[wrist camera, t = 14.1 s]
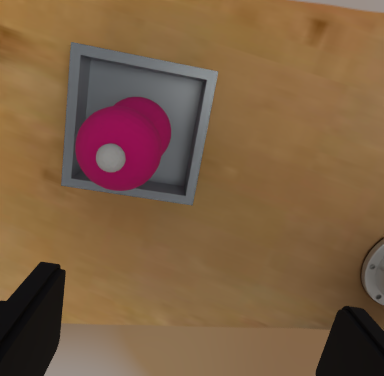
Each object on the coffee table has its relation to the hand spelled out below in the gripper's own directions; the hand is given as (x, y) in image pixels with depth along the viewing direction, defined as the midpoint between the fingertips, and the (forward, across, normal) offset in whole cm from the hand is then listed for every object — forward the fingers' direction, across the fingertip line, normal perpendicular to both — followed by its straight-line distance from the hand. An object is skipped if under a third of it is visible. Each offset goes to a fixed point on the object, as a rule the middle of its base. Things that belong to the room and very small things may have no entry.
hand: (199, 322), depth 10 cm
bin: (+30, +6, -3) cm, 31 cm away
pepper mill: (+30, +6, -3) cm, 30 cm away
